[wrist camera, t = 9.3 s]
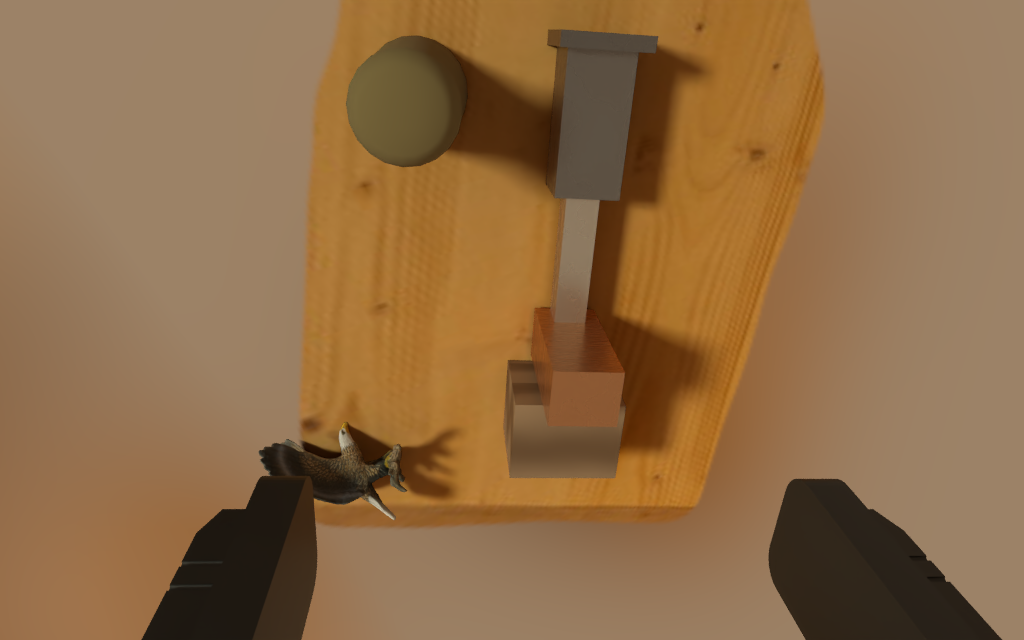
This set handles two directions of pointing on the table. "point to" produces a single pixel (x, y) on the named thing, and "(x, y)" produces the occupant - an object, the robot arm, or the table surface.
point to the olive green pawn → (407, 101)
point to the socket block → (553, 435)
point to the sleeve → (592, 111)
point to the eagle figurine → (336, 470)
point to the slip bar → (575, 332)
